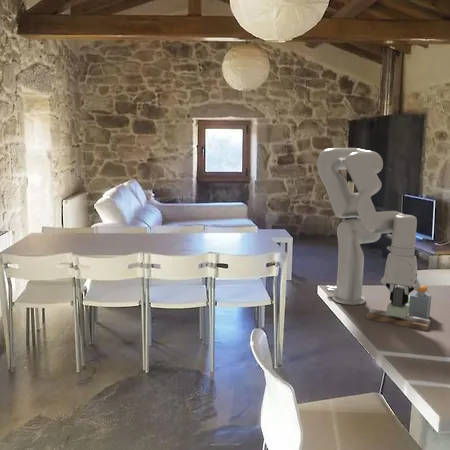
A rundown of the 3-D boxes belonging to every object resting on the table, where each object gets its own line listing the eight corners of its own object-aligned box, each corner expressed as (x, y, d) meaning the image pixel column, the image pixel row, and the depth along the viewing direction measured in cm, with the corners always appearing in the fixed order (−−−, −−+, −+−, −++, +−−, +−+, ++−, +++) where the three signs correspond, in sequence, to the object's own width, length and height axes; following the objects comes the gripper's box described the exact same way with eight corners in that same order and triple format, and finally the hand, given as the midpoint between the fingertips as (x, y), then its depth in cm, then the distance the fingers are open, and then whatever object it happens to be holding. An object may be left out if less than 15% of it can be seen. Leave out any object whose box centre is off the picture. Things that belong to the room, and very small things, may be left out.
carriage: (386, 314, 181) (388, 289, 179) (391, 308, 187) (393, 284, 185) (404, 318, 178) (406, 292, 176) (409, 312, 184) (411, 287, 182)
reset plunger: (413, 301, 186) (414, 287, 185) (415, 298, 189) (416, 284, 189) (425, 303, 184) (426, 289, 183) (427, 300, 187) (428, 286, 187)
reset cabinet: (408, 317, 187) (410, 295, 185) (412, 312, 192) (413, 291, 190) (426, 320, 184) (428, 298, 182) (429, 315, 189) (431, 294, 187)
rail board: (366, 318, 185) (367, 311, 184) (372, 313, 191) (372, 306, 190) (426, 330, 175) (427, 323, 174) (430, 324, 181) (431, 317, 180)
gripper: (375, 250, 180) (371, 302, 183) (425, 256, 171) (421, 311, 174) (381, 246, 186) (377, 296, 189) (430, 252, 178) (425, 305, 181)
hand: (398, 303), depth 182 cm, fingers closed on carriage, 3 cm apart
